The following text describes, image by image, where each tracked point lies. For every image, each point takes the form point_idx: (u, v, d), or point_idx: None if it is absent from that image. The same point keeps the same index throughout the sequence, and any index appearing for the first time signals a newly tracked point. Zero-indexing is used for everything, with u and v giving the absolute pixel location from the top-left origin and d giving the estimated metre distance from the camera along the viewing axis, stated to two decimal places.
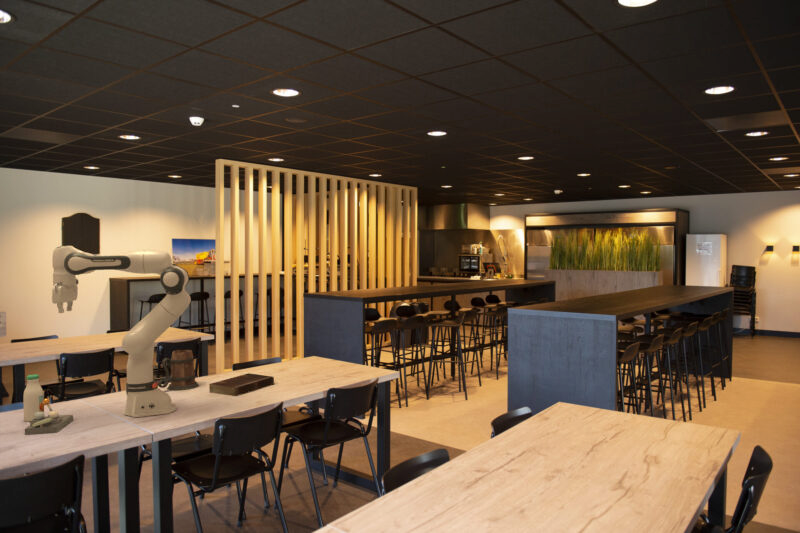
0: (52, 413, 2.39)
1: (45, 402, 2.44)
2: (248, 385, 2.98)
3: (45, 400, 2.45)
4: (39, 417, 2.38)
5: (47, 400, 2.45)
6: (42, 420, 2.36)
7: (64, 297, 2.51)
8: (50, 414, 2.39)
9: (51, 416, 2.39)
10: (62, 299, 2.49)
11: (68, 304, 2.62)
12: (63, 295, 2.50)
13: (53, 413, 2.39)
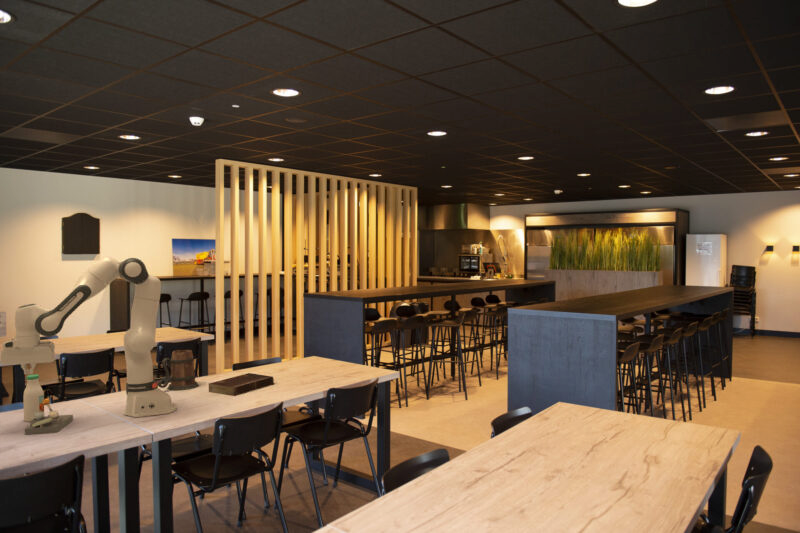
0: (52, 413, 2.39)
1: (45, 402, 2.44)
2: (247, 385, 2.99)
3: (45, 400, 2.45)
4: (39, 417, 2.38)
5: (47, 400, 2.45)
6: (42, 420, 2.36)
7: None
8: (50, 414, 2.39)
9: (51, 416, 2.39)
10: None
11: (24, 367, 2.43)
12: None
13: (53, 413, 2.39)
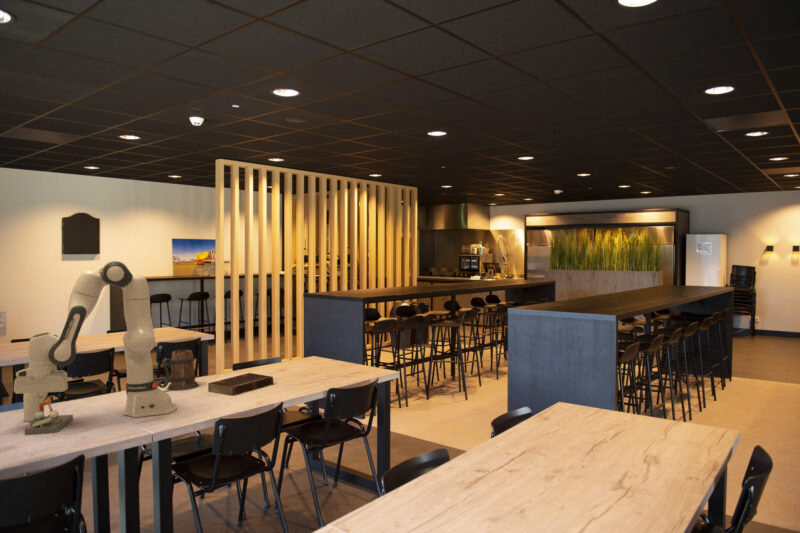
0: (52, 413, 2.39)
1: (46, 401, 2.45)
2: (246, 385, 2.99)
3: (46, 399, 2.45)
4: (39, 417, 2.38)
5: (48, 400, 2.45)
6: (42, 420, 2.36)
7: None
8: (50, 414, 2.39)
9: (51, 416, 2.39)
10: None
11: (37, 396, 2.45)
12: None
13: (53, 413, 2.39)
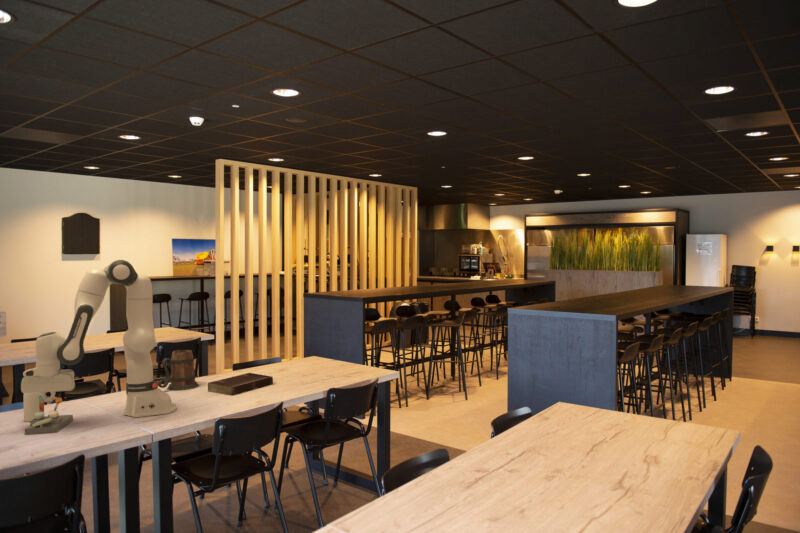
0: (52, 413, 2.39)
1: (57, 401, 2.45)
2: (245, 385, 2.99)
3: (59, 399, 2.46)
4: (39, 417, 2.38)
5: (60, 401, 2.46)
6: (42, 420, 2.36)
7: None
8: (50, 414, 2.39)
9: (51, 416, 2.39)
10: None
11: (44, 395, 2.45)
12: None
13: (53, 413, 2.39)
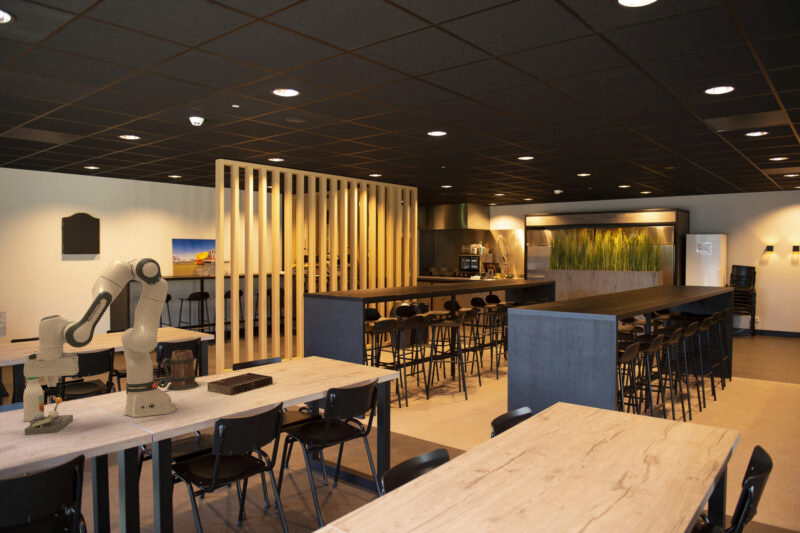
0: (52, 413, 2.39)
1: (57, 401, 2.45)
2: (245, 385, 2.99)
3: (59, 399, 2.46)
4: (39, 417, 2.38)
5: (60, 401, 2.46)
6: (42, 420, 2.36)
7: None
8: (50, 414, 2.39)
9: (51, 416, 2.39)
10: None
11: (47, 379, 2.39)
12: None
13: (53, 413, 2.39)
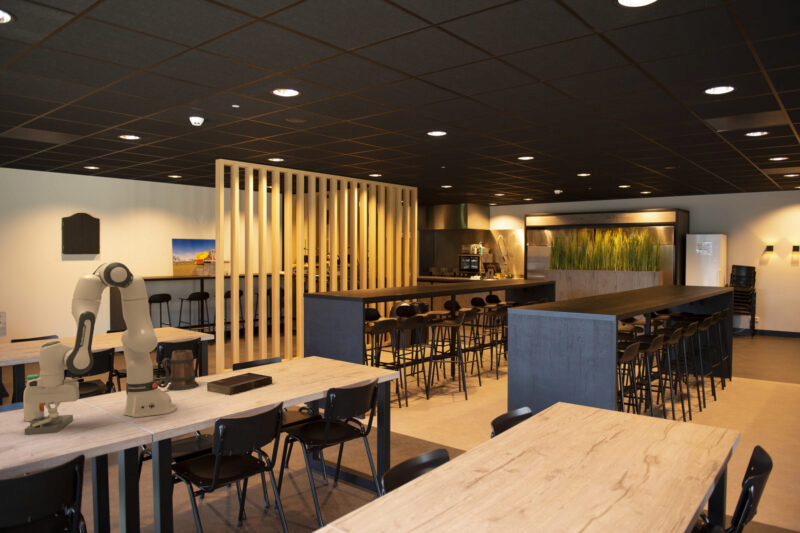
0: (52, 414, 2.39)
1: None
2: (244, 384, 3.00)
3: None
4: (39, 417, 2.38)
5: None
6: (42, 420, 2.36)
7: None
8: (50, 415, 2.39)
9: (51, 417, 2.39)
10: None
11: (48, 406, 2.39)
12: None
13: (53, 414, 2.39)
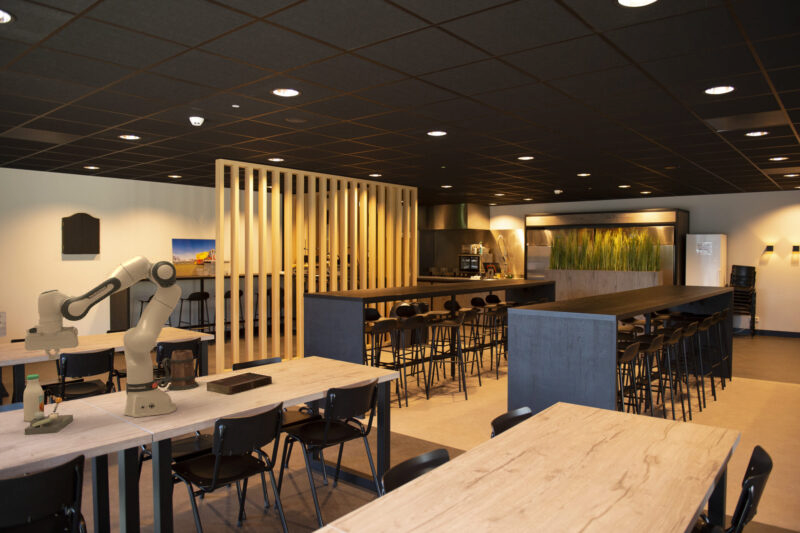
0: (52, 416, 2.39)
1: (57, 401, 2.45)
2: (243, 384, 3.00)
3: (59, 399, 2.46)
4: (39, 417, 2.38)
5: (60, 401, 2.46)
6: (42, 420, 2.36)
7: None
8: (50, 417, 2.39)
9: None
10: None
11: (48, 352, 2.45)
12: None
13: (53, 416, 2.39)
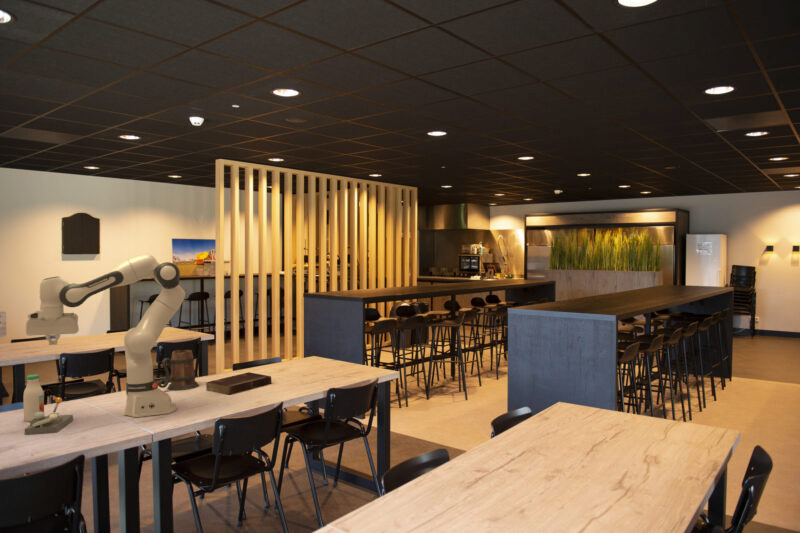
0: (52, 416, 2.39)
1: (57, 401, 2.45)
2: (243, 384, 3.00)
3: (59, 399, 2.46)
4: (39, 417, 2.38)
5: (60, 401, 2.46)
6: (42, 420, 2.36)
7: None
8: (50, 417, 2.39)
9: None
10: None
11: (48, 338, 2.49)
12: None
13: (53, 416, 2.39)
